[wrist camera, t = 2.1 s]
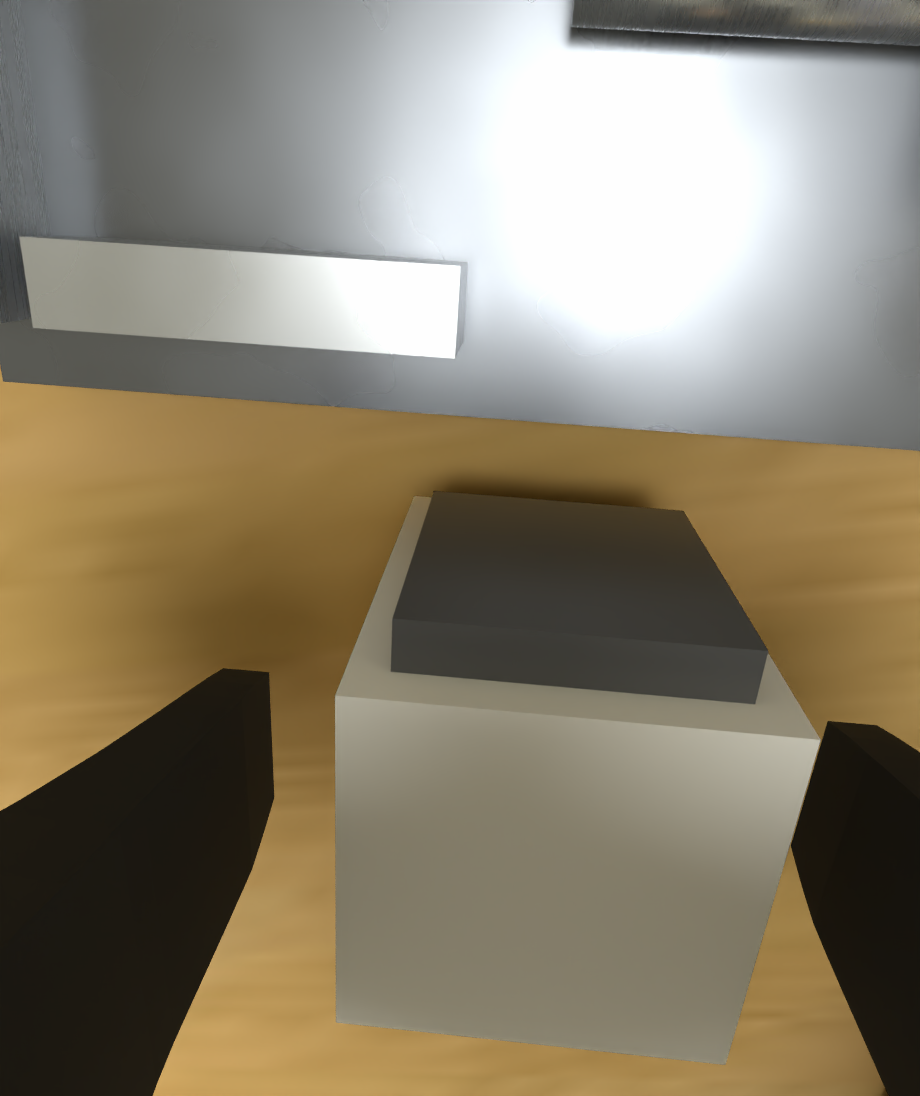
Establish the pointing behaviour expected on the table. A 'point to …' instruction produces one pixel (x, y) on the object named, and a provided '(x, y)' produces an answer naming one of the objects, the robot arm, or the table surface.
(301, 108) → the grey metal base
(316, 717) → the table surface
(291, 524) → the table surface
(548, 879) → the white cube grey lid
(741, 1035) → the table surface
